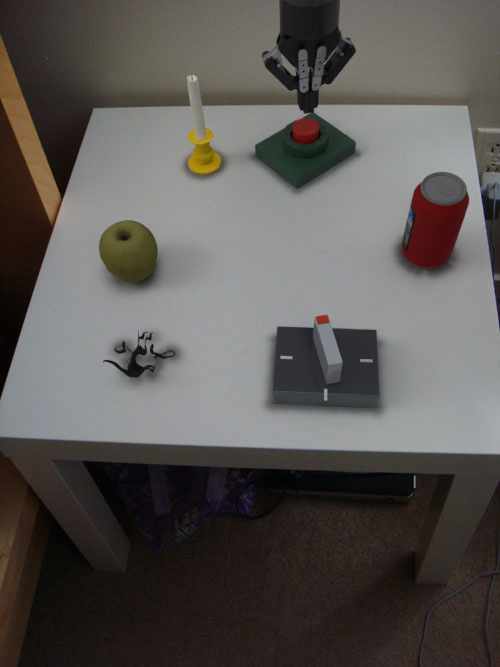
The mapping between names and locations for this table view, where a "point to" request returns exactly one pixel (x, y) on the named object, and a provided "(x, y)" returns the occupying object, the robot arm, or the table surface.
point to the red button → (305, 130)
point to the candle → (200, 134)
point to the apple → (128, 250)
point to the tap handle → (327, 349)
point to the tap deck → (307, 376)
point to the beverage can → (435, 219)
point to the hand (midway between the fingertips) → (307, 109)
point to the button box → (305, 152)
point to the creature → (134, 367)
